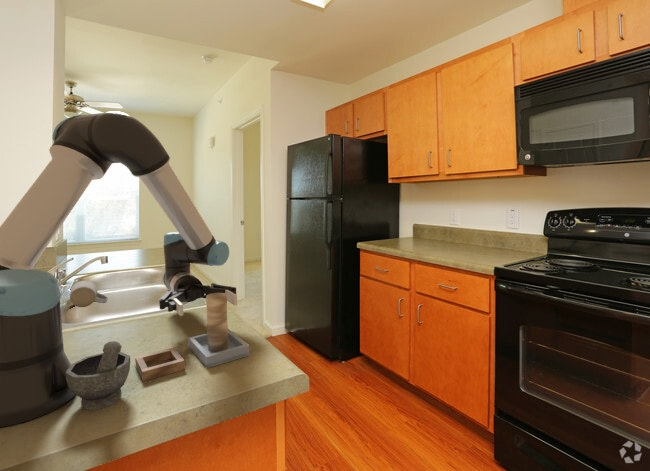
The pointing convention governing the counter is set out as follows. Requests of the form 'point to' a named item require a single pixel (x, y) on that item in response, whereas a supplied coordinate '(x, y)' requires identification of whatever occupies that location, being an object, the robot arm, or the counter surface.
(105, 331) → the counter surface
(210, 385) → the counter surface
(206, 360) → the tray
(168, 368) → the socket block
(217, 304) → the dowel
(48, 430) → the counter surface
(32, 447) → the counter surface
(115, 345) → the mortar and pestle
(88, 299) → the ceramic mug
